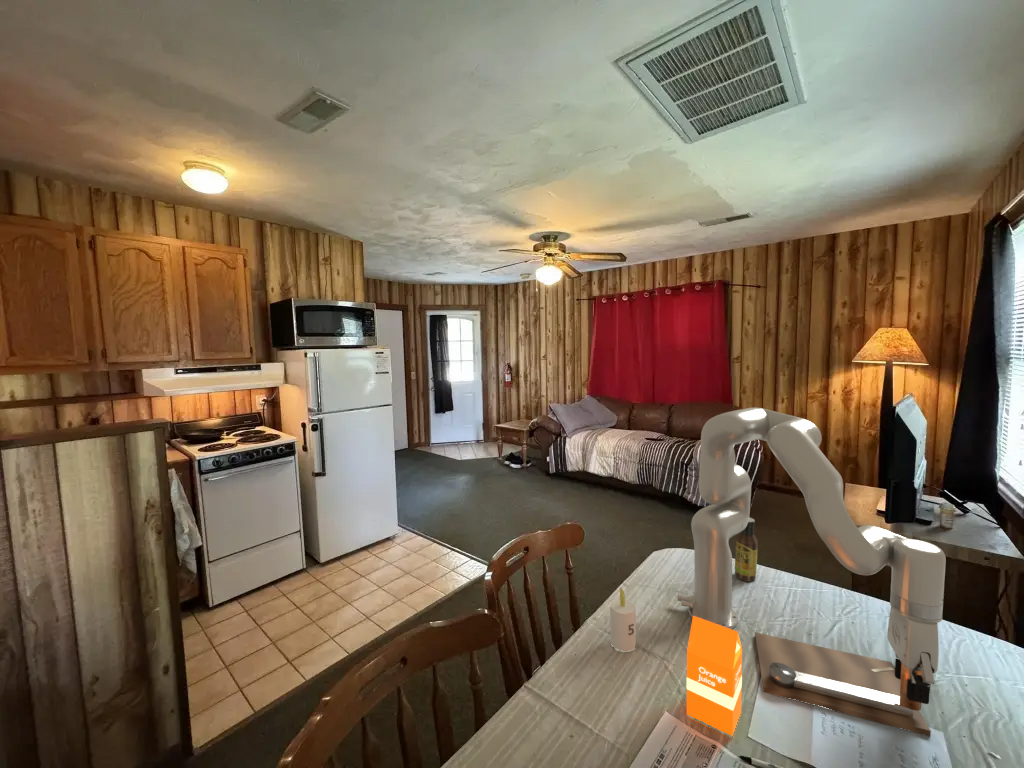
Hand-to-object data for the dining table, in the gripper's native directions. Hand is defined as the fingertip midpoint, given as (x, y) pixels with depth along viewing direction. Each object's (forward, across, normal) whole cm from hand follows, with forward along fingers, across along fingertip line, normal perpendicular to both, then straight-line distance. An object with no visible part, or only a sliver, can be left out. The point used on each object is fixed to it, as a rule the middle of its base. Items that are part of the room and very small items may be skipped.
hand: (911, 689), depth 86 cm
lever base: (+6, -6, -12) cm, 15 cm away
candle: (+7, 0, -57) cm, 57 cm away
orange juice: (+7, +14, -36) cm, 39 cm away
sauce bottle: (+7, -47, -26) cm, 54 cm away
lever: (+5, 0, -11) cm, 12 cm away
